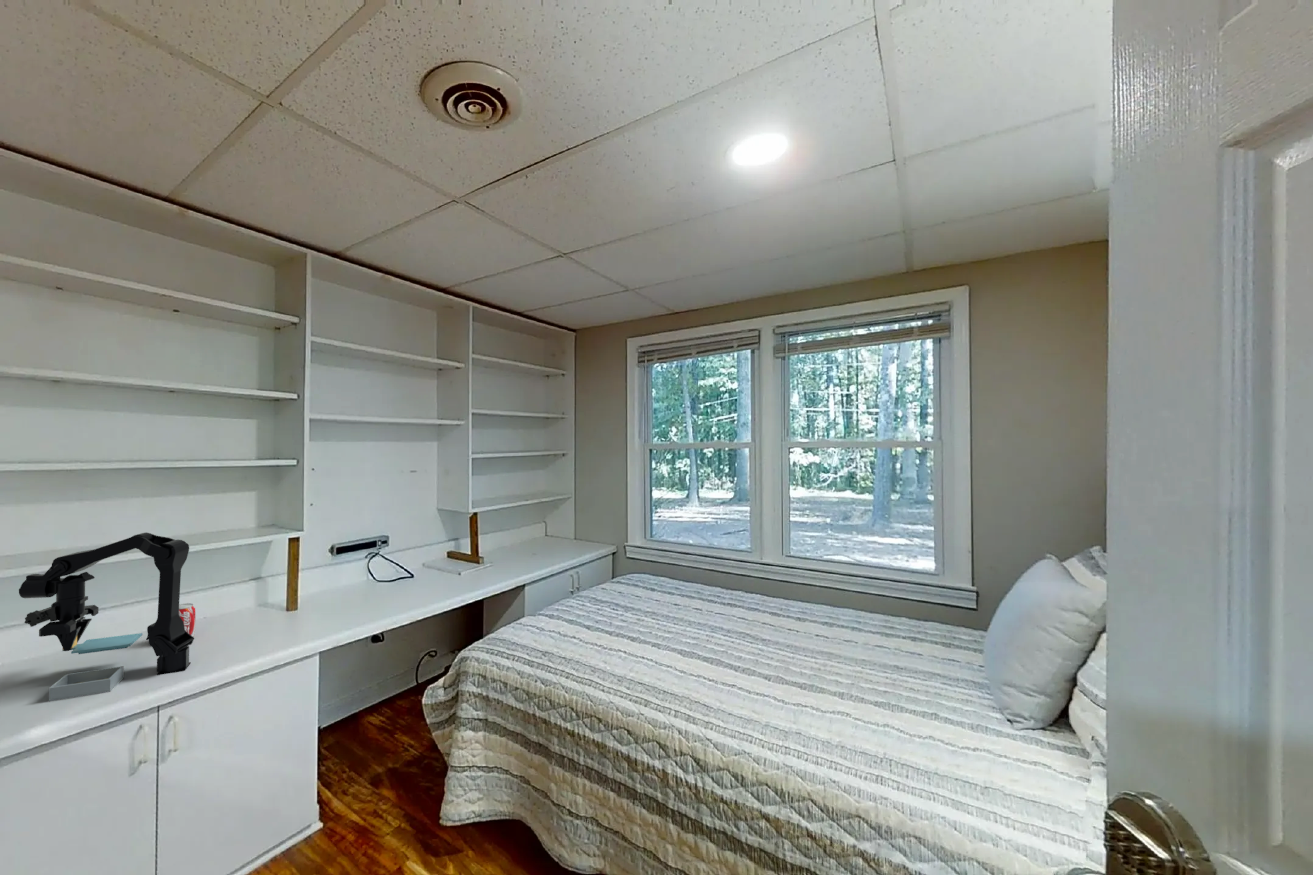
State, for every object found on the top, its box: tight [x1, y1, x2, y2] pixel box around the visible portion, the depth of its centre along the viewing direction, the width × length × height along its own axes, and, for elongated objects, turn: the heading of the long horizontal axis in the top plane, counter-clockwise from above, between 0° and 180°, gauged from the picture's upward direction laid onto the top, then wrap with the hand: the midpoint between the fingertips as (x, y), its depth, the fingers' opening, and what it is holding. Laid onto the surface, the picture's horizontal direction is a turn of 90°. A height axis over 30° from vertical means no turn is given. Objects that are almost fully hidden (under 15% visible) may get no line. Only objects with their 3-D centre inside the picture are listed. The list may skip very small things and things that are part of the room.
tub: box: [48, 665, 125, 702], centre depth 148 cm, size 12×9×4 cm
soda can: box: [179, 602, 196, 638], centre depth 183 cm, size 7×7×12 cm
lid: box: [61, 632, 143, 655], centre depth 158 cm, size 16×10×4 cm, turn 119°
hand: (70, 648), depth 155 cm, fingers closed on lid, 3 cm apart
